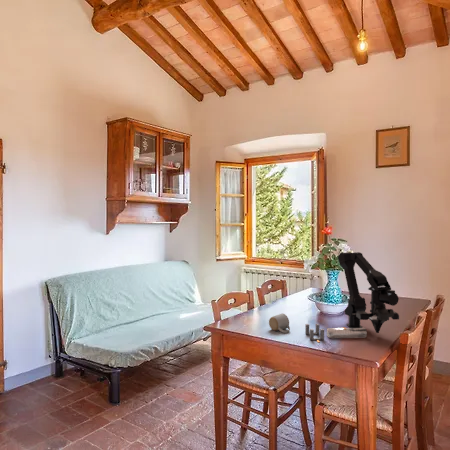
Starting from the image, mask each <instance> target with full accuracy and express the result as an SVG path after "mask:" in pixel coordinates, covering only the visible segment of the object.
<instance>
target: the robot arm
mask: <svg viewBox="0 0 450 450" xmlns="http://www.w3.org/2000/svg"><path fill="white" fill-rule="evenodd" d="M337 259H338V263H339V265H340V267H341V268H342V269H343V270H344V275H345V276H344V277H345V279H346V280H345V281H346V285H347V290H348V295H349V298H348V300H347V307H346V308H345V309H344V314H345V315H346V316H348V323H346V324H345V325H346V326H348V328H364V326H362V325H361V321H368V320H369V321H370V322H371V324H372V326H373V328H374V332H375V333H376V334H379V333H380V330H381V327H382V326H383V324H384V323H385V322H388V321H389V320H390V318H391V319H392V320H400V315H399V313H398V312H396V311H394V309H393V308H387V307H386V304H387V305H389V306H393V307H394V306H396V305H397V304H399V300H400V298H399V296H398V294H397V293H396V291H395V290H394V289H392V287H391V285H390V283H389V281H388V279H387V276H386V275H385V274H383V273H382V272H381V271H379V270H376V269H375V268H374V266H373V265H372V264H370V263H369V261H368V260H367V259H366V258H365V257H364V255H363V253H362V252H359V251H358V252H350V251H349V252H339V254H338V256H337ZM355 265H357V266H358V268H359V269H360V270H362V272H363V273H364V274H365V275H366V280H367V282H368V284H369V285H370V287H368V288H367V290H368V291H371V292H370V293H371V296H370V297H371V299H370V300H371V301H370V303H369V304H370V308H371V309H370V310H369V312H367V311H366V310H367V303H366V299H365V297H362V296H361V295H360V290H359V286H358V282H357V278H356V272H355V268H354V267H355Z"/></svg>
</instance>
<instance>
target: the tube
mask: <svg viewBox="0 0 450 450" xmlns="http://www.w3.org/2000/svg"><path fill="white" fill-rule="evenodd" d="M367 331H368V330H367V329H366V327H363V328H350V327H345V326H343V327H327V328H326V336H327V338H329V339H355V338H356V339H357V338H358V339H360V338H361V339H363V338H365V339H366V338H367V336H368V332H367Z"/></svg>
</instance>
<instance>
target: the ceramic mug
mask: <svg viewBox="0 0 450 450" xmlns="http://www.w3.org/2000/svg"><path fill="white" fill-rule="evenodd" d="M268 326H269V327H270V329H271V330H272V331H277V332H278V331H280V332H281V333H283V334H288V333H290V330H291V327H290V319H289V317H288V316H287V314H286V313H279V314H276V315H273V316H271V317H270V318H269V320H268ZM286 329H288V330H286Z"/></svg>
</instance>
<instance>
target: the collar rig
mask: <svg viewBox="0 0 450 450" xmlns="http://www.w3.org/2000/svg"><path fill="white" fill-rule="evenodd" d="M304 329H305V332H304V334H305V335H306V336H309V341H311V342H312V341H313V342H315V341H316V342H317V343H321V341H325V329H324V328H320V323H315V329H313V328H310V323H305V328H304ZM314 336H319V337H314Z"/></svg>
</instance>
